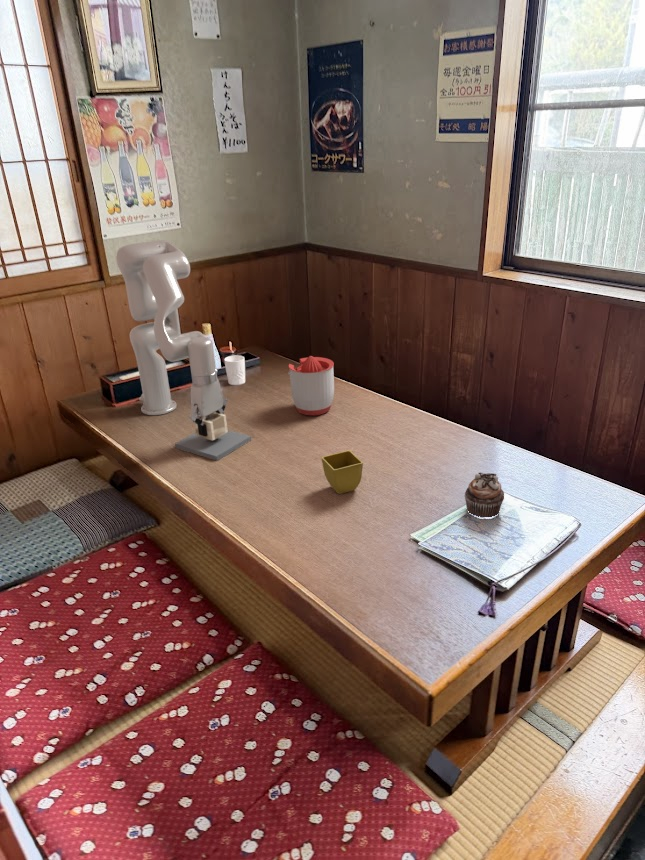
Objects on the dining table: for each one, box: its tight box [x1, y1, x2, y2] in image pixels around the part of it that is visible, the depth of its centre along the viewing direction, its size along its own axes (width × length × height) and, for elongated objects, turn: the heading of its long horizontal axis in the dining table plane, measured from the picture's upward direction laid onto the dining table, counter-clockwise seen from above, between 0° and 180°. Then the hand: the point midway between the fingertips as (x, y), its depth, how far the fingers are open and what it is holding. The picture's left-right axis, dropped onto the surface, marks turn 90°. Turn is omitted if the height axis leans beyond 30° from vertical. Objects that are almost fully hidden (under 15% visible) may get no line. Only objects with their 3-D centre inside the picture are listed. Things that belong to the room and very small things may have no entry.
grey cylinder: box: [205, 418, 219, 442], centre depth 201 cm, size 4×4×7 cm
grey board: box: [174, 429, 252, 462], centre depth 203 cm, size 18×16×2 cm
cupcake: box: [464, 472, 505, 517], centre depth 159 cm, size 10×10×10 cm
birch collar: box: [193, 412, 229, 441], centre depth 200 cm, size 7×7×6 cm
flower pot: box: [321, 450, 364, 495], centre depth 172 cm, size 9×9×9 cm
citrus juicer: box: [287, 355, 335, 416], centre depth 221 cm, size 16×17×20 cm
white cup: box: [223, 354, 246, 386], centre depth 250 cm, size 8×8×10 cm
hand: (211, 430), depth 201 cm, fingers closed on birch collar, 7 cm apart
